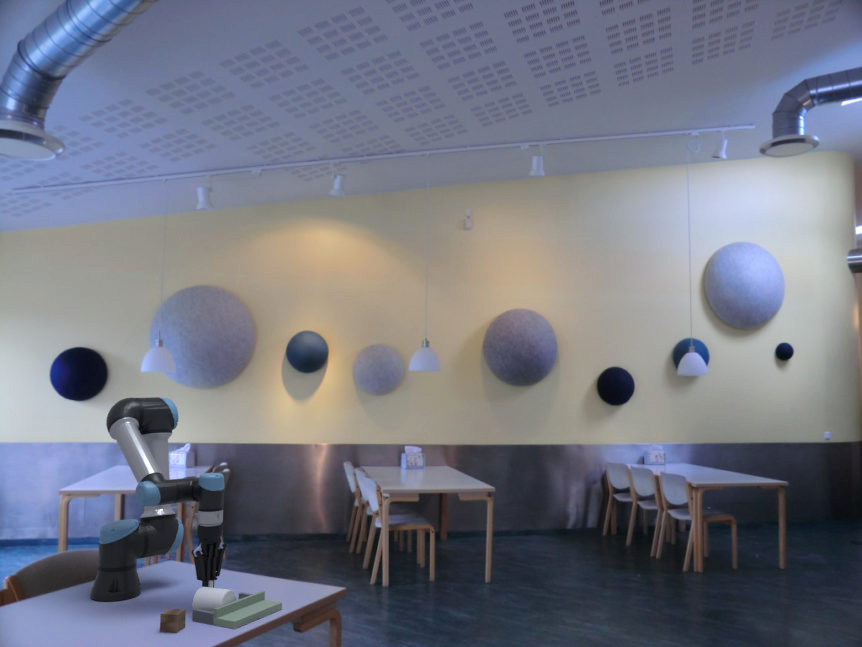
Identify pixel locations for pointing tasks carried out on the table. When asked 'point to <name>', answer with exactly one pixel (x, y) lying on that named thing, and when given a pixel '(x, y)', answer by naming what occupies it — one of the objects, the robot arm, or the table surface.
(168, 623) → the walnut block
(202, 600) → the mug
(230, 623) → the green holder tray
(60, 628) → the table surface
